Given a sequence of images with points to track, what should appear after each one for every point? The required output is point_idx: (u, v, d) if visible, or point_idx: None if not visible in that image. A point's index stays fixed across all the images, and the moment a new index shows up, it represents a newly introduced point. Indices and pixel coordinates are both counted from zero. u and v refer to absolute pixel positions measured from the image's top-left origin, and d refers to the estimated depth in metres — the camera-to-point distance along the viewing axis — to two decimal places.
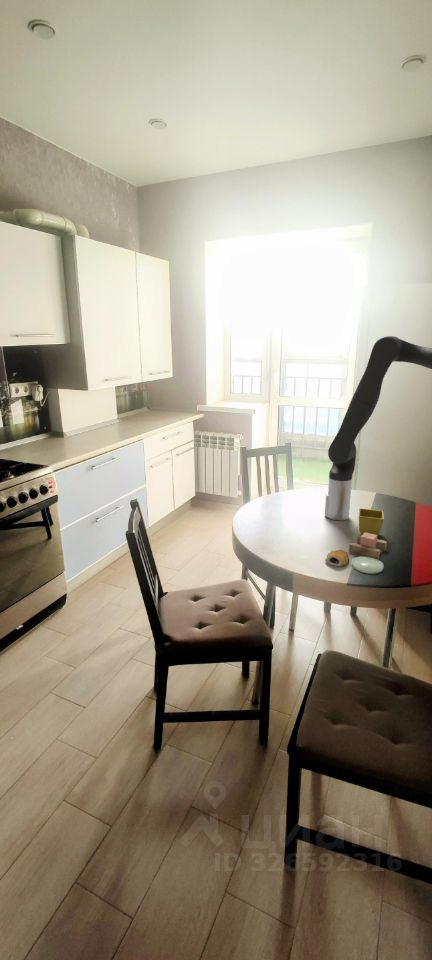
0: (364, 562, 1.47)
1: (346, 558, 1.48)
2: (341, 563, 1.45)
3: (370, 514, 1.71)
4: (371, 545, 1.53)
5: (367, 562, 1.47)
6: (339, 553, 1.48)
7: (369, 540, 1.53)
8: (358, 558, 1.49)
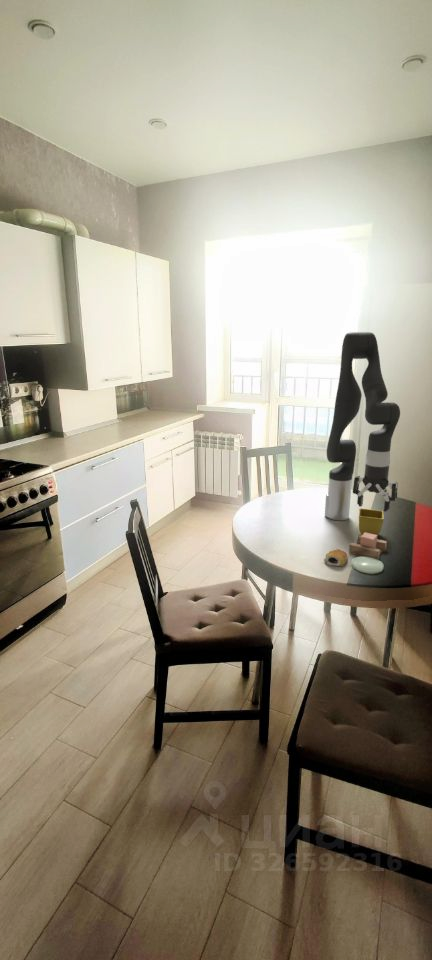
0: (364, 562, 1.47)
1: (345, 558, 1.48)
2: (340, 563, 1.45)
3: (370, 514, 1.71)
4: (371, 545, 1.53)
5: (367, 562, 1.47)
6: (338, 553, 1.48)
7: (369, 540, 1.53)
8: (358, 558, 1.49)
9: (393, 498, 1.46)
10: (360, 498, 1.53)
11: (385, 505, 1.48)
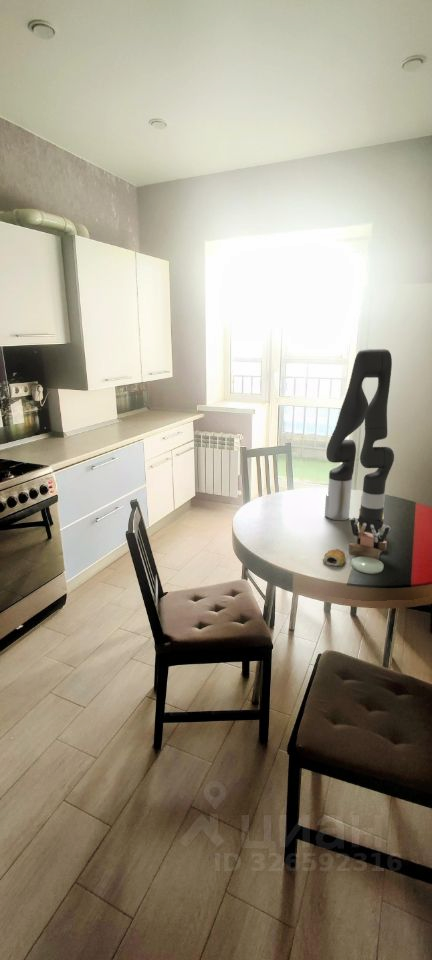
0: (364, 562, 1.47)
1: (343, 557, 1.48)
2: (339, 563, 1.46)
3: None
4: (371, 545, 1.53)
5: (367, 562, 1.47)
6: (336, 553, 1.48)
7: (369, 540, 1.53)
8: (358, 558, 1.49)
9: (382, 540, 1.51)
10: None
11: (374, 546, 1.54)
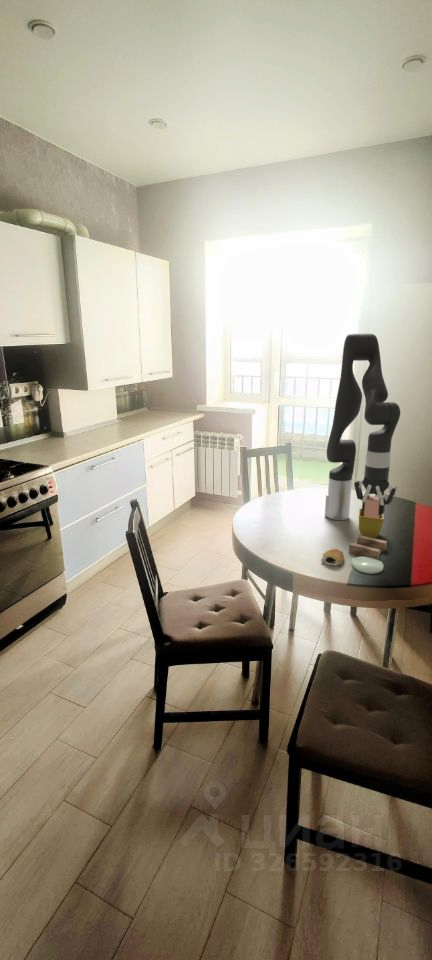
0: (364, 562, 1.47)
1: (342, 557, 1.48)
2: (338, 562, 1.46)
3: None
4: (376, 508, 1.45)
5: (367, 562, 1.47)
6: (335, 553, 1.49)
7: (375, 502, 1.45)
8: (358, 558, 1.49)
9: (388, 502, 1.43)
10: None
11: (380, 509, 1.46)
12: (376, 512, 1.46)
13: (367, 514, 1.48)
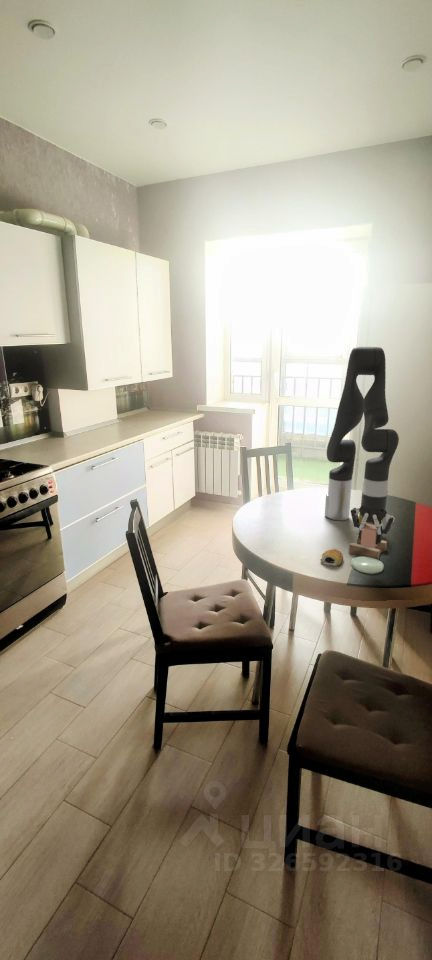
0: (364, 562, 1.47)
1: (341, 557, 1.48)
2: (337, 562, 1.46)
3: None
4: (373, 537, 1.40)
5: (367, 562, 1.47)
6: (334, 552, 1.49)
7: (371, 531, 1.40)
8: (358, 558, 1.49)
9: (385, 531, 1.38)
10: None
11: (377, 538, 1.41)
12: (373, 541, 1.41)
13: (364, 543, 1.43)
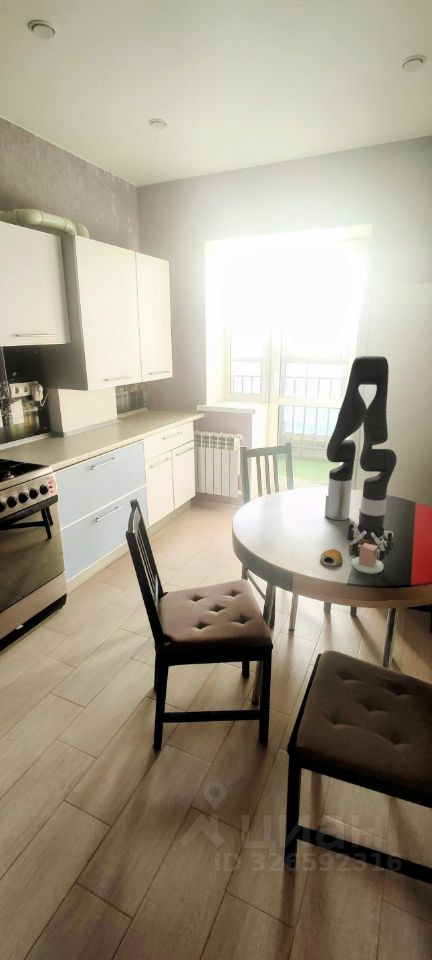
0: None
1: (340, 557, 1.48)
2: (336, 562, 1.46)
3: None
4: (371, 557, 1.42)
5: None
6: (333, 552, 1.49)
7: (369, 551, 1.42)
8: (358, 558, 1.49)
9: (389, 548, 1.39)
10: (355, 545, 1.46)
11: (380, 554, 1.41)
12: (371, 561, 1.43)
13: (362, 562, 1.45)
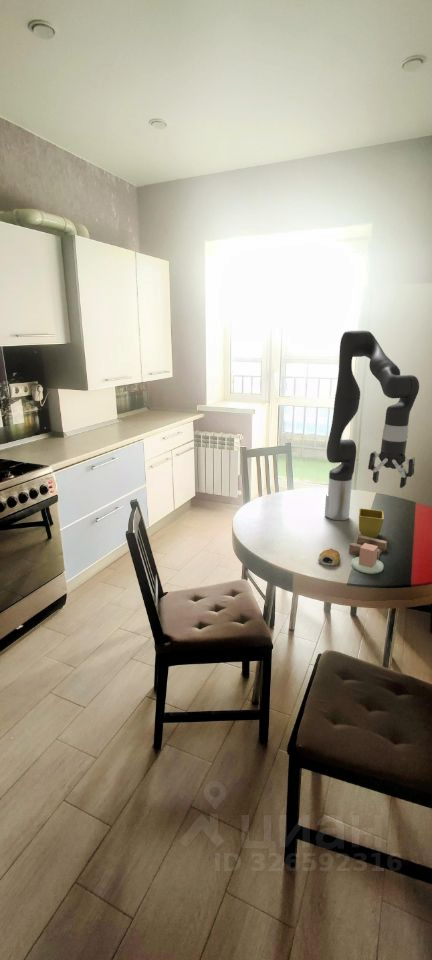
0: None
1: (338, 557, 1.48)
2: (335, 562, 1.46)
3: (370, 514, 1.71)
4: (371, 557, 1.42)
5: None
6: (331, 552, 1.49)
7: (369, 551, 1.42)
8: (358, 558, 1.49)
9: (410, 474, 1.43)
10: (376, 474, 1.50)
11: (401, 481, 1.45)
12: (371, 561, 1.43)
13: (362, 562, 1.45)
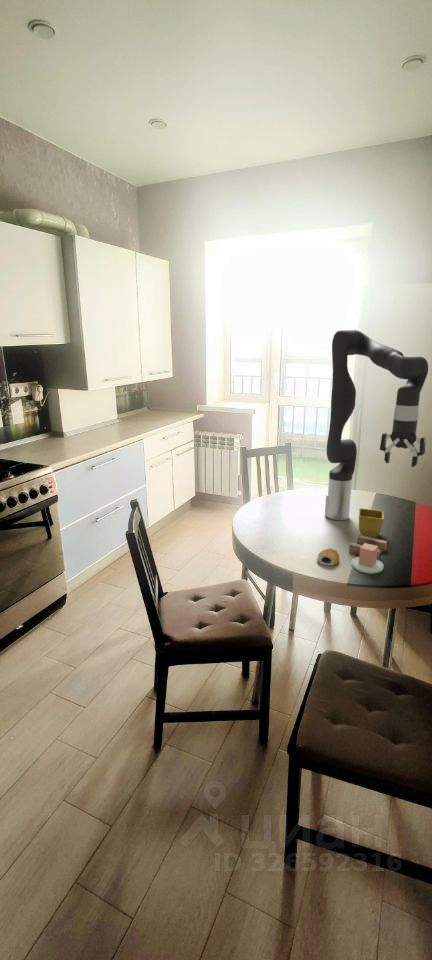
0: None
1: (337, 557, 1.48)
2: (333, 562, 1.46)
3: (370, 514, 1.71)
4: (371, 557, 1.42)
5: None
6: (330, 552, 1.49)
7: (369, 551, 1.42)
8: (358, 558, 1.49)
9: (421, 453, 1.47)
10: (387, 454, 1.54)
11: (413, 460, 1.49)
12: (371, 561, 1.43)
13: (362, 562, 1.45)
